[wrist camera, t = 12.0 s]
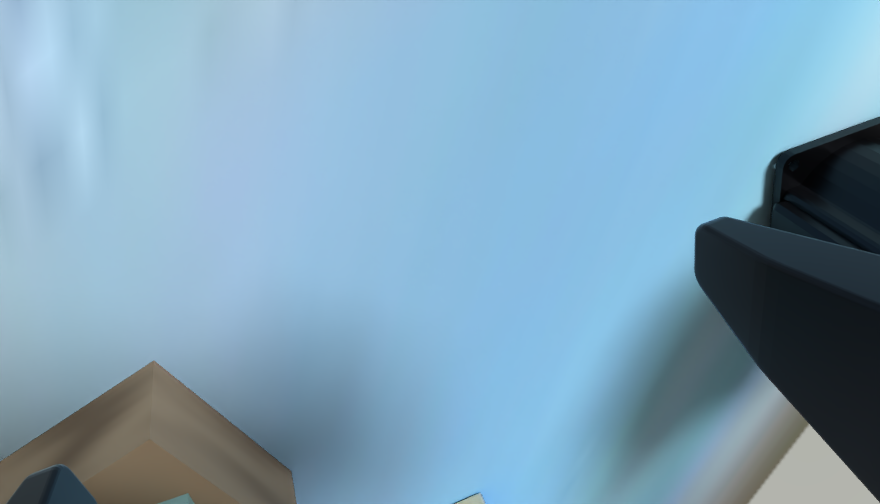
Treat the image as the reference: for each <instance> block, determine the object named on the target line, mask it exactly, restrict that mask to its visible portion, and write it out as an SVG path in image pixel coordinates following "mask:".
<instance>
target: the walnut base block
mask: <svg viewBox="0 0 880 504" xmlns="http://www.w3.org/2000/svg"><path fill="white" fill-rule="evenodd" d="M57 464H63V465H65V466H67V467H68V468H69V469H70V470H71V471H72V472H73V473H74V474H75V476H76V477H77V478H78V479H79V480H80V482H81V483H82V484H83V485H84V486H85V488H86V489H87V490H88V491H89V492H90V494H91V495H92V496H93V497H94V498H95V500H96V502H97V503H98V504H158V503H161V502H164V501H167V500H170V499H173V498H175V497H178V496H181V495H184V494H187V493H188V494H189V495H190V497H191V499H192V500H193V502H194V504H297V503H296V497H295V491H294V485H293V479H292V472H291V471H290V470H289V469H288V468H286V467H285V466H284V465H283V464H282V463H280V462H279V461H278V460H277V459H275V458H274V457H273V456H272V455H270V454H269V453H268V452H267V451H265V450H264V449H263V448H262V447H260V446H259V445H258V444H257V443H255V442H254V441H253V440H252V439H251V438H249V437H248V436H247V435H246V434H244V433H243V432H242V431H241V430H239V429H238V428H237V427H236V426H234V425H233V424H232V423H231V422H229V421H228V420H227V419H226V418H225V417H223V416H222V415H221V414H220V413H218V412H217V411H216V410H215V409H213V408H212V407H211V406H210V405H208V404H207V403H206V402H205V401H203V400H202V399H201V398H200V397H199V396H197V395H196V394H195V393H194V392H192V391H191V390H190V389H189V388H187V387H186V386H185V385H184V384H182V383H181V382H180V381H179V380H177V379H176V378H175V377H174V376H173V375H171V374H170V373H169V372H168V371H166V370H165V369H164V368H163V367H161V366H160V365H159V364H158V363H156V362H155V361H152V362H151V363H149V364H148V365H146V366H145V367H143V368H142V369H140V370H139V371H137V372H136V373H134V374H133V375H131V376H130V377H128V378H127V379H125V380H124V381H122V382H120V383H119V384H117V385H116V386H114V387H113V388H111V389H110V390H108V391H107V392H105V393H104V394H102V395H101V396H99V397H98V398H96V399H95V400H93V401H92V402H90V403H89V404H87V405H86V406H84V407H82V408H81V409H79V410H78V411H76V412H75V413H73V414H72V415H70V416H69V417H67V418H66V419H64V420H63V421H61V422H60V423H58V424H57V425H55V426H54V427H52V428H51V429H49V430H48V431H46V432H45V433H43V434H41V435H40V436H38V437H37V438H35V439H34V440H32V441H31V442H29V443H28V444H26V445H25V446H23V447H22V448H20V449H19V450H17V451H16V452H14V453H13V454H11V455H10V456H8V457H7V458H5V459H3V460H2V461H0V504H6V503H7V502H8V500H9V499H10V498H11V496H12V495H13V494H14V492H15V491H16V490H17V488H18V487H19V486H20V484H21V483H22V482H23V480H24V479H25V478H26V477H27V476H29V475H30V474H32V473H35V472H37V471H40V470H43V469H45V468H48V467H51V466H53V465H57Z"/></svg>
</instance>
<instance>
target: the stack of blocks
mask: <svg viewBox="0 0 880 504" xmlns="http://www.w3.org/2000/svg"><path fill="white" fill-rule="evenodd" d="M455 504H485V501H484V499H483V496H482V494H481V493H479V494H476V495H473V496H471V497H469V498H467V499H465V500H462V501H460V502H458V503H455Z"/></svg>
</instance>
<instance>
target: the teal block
mask: <svg viewBox="0 0 880 504" xmlns="http://www.w3.org/2000/svg"><path fill="white" fill-rule="evenodd" d="M158 504H194V502H193V500H192V499H191V497H190V495H189V494H188V493H187V494H184V495H181V496H178V497H175V498H173V499H170V500H167V501H164V502H161V503H158Z"/></svg>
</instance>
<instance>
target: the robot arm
mask: <svg viewBox="0 0 880 504" xmlns="http://www.w3.org/2000/svg"><path fill="white" fill-rule="evenodd" d="M789 164H790V165H789ZM694 270H695V276H696V279H697V281H698V283H699V285H700V287H701V288H702V290H703V291H704V292H705V294H706V295H707V297H708V298H709V299H710V301H711V302H712V304H713V305H714V306H715V308H716V309H717V311H718V312H719V313H720V315H721V316H722V318H723V319H724V320H725V322H726V323H727V325H728V326H729V327H730V329H731V330H732V332H733V333H734V334H735V336H736V337H737V339H738V340H739V341H740V343H741V344H742V346H743V347H744V348H745V350H746V351H747V353H748V354H749V355H750V356H751V358H752V359H753V360H754V362H755V363H756V364H757V366H758V367H759V368H760V369H761V370H762V371H763V373H764V374H765V375H766V376H767V377H768V378H769V380H770V381H771V382H772V383H773V384H774V385H775V386H776V387H777V388H778V390H779V391H780V392H781V393H782V394H783V395H784V396H785V397H786V398H787V400H788V401H789V402H790V403H791V404H792V405H793V406H794V407H795V408H796V410H797V411H798V412H799V413H800V414H801V415H802V416H803V417H804V419H805V420H806V421H807V422H808V423H809V424H810V425H811V426H812V427H813V429H814V430H815V431H816V432H817V433H818V434H819V435H820V436H821V437H822V439H823V440H824V441H825V442H826V443H827V444H828V445H829V446H830V447H831V449H832V450H833V451H834V452H835V453H836V454H837V455H838V456H839V458H841V460H842V461H843V462H844V463H845V464H846V465H847V466H848V468H849V469H850V470H851V471H852V472H853V473H854V474H855V475H856V476H857V478H858V479H859V480H860V481H861V482H862V483H863V484H864V485H865V486H866V488H867V489H868V490H869V491H870V492H871V493H872V494H873V495H874V497H875V498H876V499H877V500H878V501H879V502H880V117H878V118H875V119H872V120H870V121H867V122H864V123H861V124H859V125H856V126H853V127H850V128H848V129H845V130H842V131H839V132H837V133H834V134H831V135H828V136H825V137H823V138H820V139H817V140H814V141H812V142H809V143H806V144H803V145H801V146H798V147H795V148H792V149H790V150H787V151H785V152H784V153H783V154H782V155H780V157H779V158H778V160H777V162H776V167H775V178H774V189H773V200H772V210H771V221H770V227H766V226H762V225H758V224H754V223H750V222H746V221H742V220H738V219H734V218H729V217H720V218H717V219H714V220H712V221H709V222H706V223H703V224H701V225H700V226H699V227H698V228H697V230H696V232H695V263H694ZM6 504H98V503H97V502H96V500H95V498H94V497H93V496H92V495H91V494H90V492H89V491H88V490H87V489H86V488H85V486H84V485H83V484H82V483H81V482H80V480H79V479H78V478H77V477H76V476H75V474H74V473H73V472H72V471H71V470H70V469H69V468H68V467H67V466H65V465H63V464H57V465H53V466H51V467H48V468H45V469H43V470H40V471H37V472H35V473H32V474H30V475H29V476H27V477H26V478H25V479H24V480H23V482H22V483H21V484H20V486H19V487H18V488H17V490H16V491H15V492H14V494H13V495H12V496H11V498H10V499H9V500H8V502H7V503H6Z"/></svg>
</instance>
